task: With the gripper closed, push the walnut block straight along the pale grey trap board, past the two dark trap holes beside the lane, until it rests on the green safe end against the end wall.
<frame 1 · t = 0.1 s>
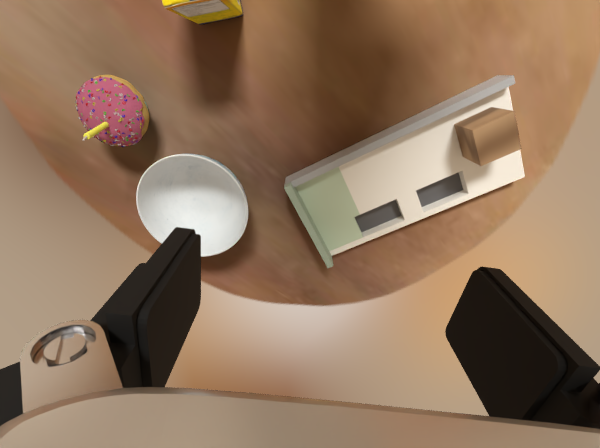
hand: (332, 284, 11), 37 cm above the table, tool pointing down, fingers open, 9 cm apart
walnut block: (476, 132, 42), point 2 cm above the table, touching trap board
chinaware: (208, 189, 49), on the table
trap board: (400, 175, 47), on the table
cupcake: (131, 108, 43), on the table
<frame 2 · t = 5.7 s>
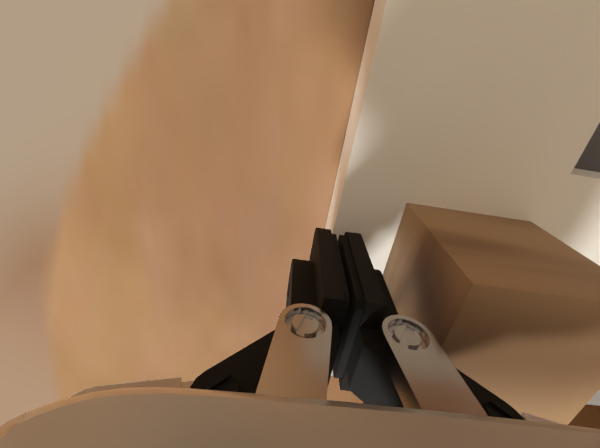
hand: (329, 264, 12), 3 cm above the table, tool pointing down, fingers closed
walnut block: (445, 266, 13), point 2 cm above the table, touching gripper
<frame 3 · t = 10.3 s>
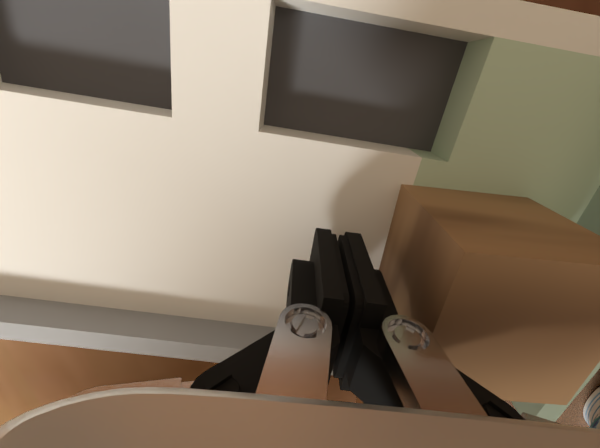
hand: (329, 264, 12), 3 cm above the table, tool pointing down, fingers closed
walnut block: (444, 247, 13), point 2 cm above the table, touching gripper
trap board: (213, 174, 14), on the table
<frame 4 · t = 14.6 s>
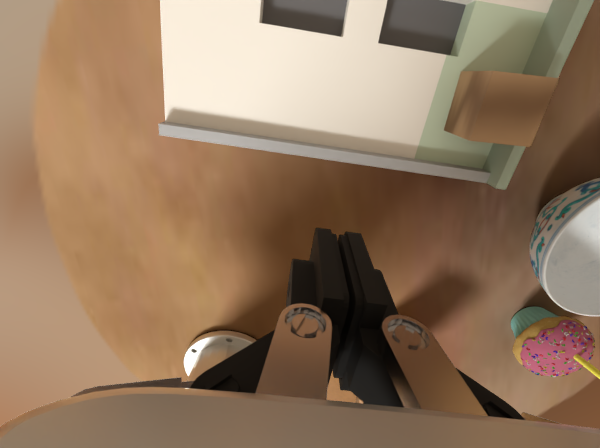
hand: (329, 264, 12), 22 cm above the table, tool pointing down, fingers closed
walnut block: (478, 104, 28), point 2 cm above the table, touching trap board
chinaware: (564, 217, 35), on the table
trap board: (345, 72, 29), on the table
cupcake: (527, 319, 42), on the table
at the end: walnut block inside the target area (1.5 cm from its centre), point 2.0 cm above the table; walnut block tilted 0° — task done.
